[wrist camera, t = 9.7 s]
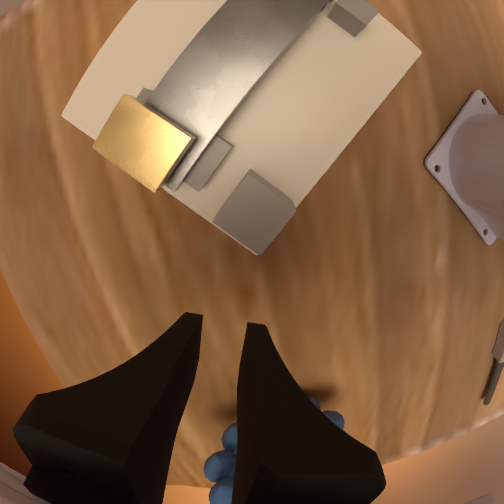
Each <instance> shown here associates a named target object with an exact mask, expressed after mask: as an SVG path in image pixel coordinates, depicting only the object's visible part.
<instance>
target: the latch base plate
mask: <svg viewBox="0 0 504 504" xmlns="http://www.w3.org/2000/svg"><path fill="white" fill-rule="evenodd" d="M226 1H227V0H137V2H136V3H135V4H134V5H133V6H132V8H131V9H130V10H129V11H128V13H127V14H126V15H125V16H124V18H123V19H122V20H121V22H120V23H119V24H118V25H117V27H116V28H115V29H114V31H113V32H112V34H111V35H110V36H109V38H108V39H107V41H106V42H105V43H104V45H103V46H102V48H101V49H100V51H99V52H98V54H97V55H96V57H95V58H94V60H93V61H92V63H91V64H90V66H89V68H88V69H87V71H86V72H85V74H84V76H83V77H82V79H81V81H80V82H79V84H78V86H77V87H76V89H75V91H74V93H73V94H72V96H71V98H70V100H69V102H68V103H67V105H66V107H65V109H64V111H63V113H62V115H61V116H62V117H63V118H65V119H66V120H68V121H69V122H70V123H72V124H73V125H75V126H76V127H77V128H79V129H80V130H81V131H83V132H84V133H86V134H87V135H88V136H90V137H91V138H93V139H94V140H96V139H97V137H98V135H99V133H100V132H101V130H102V128H103V126H104V125H105V123H106V121H107V119H108V118H109V116H110V114H111V113H112V111H113V109H114V108H115V106H116V105H117V103H118V101H119V100H120V98H121V97H122V95H123V94H128V95H132V96H134V97H136V98H137V99H139V100H140V101H142V102H144V103H145V102H146V101H147V99H148V98H149V96H150V95H151V93H152V92H153V91H154V89H155V88H156V86H157V85H158V83H159V82H160V81H161V79H162V78H163V77H164V75H165V74H166V72H167V71H168V70H169V68H170V67H171V66H172V64H173V63H174V62H175V61H176V59H177V58H178V57H179V55H180V54H181V53H182V52H183V50H184V49H185V48H186V47H187V45H188V44H189V43H190V42H191V40H192V39H193V38H194V37H195V36H196V34H197V33H198V32H199V31H200V30H201V29H202V27H203V26H204V25H205V24H206V23H207V22H208V21H209V19H210V18H211V17H212V16H213V15H214V14H215V13H216V12H217V11H218V9H219V8H220V7H221V6H222V5H223V4H224V3H225V2H226ZM379 12H380V11H379V10H378V9H376V8H375V7H374V6H373V5H371V4H370V3H369V2H367V1H366V0H333V1H332V2H331V3H327V5H326V7H325V9H324V10H323V11H322V12H321V13H320V14H319V15H318V16H317V17H316V18H315V19H314V20H313V21H312V22H311V23H310V24H309V25H308V26H307V27H306V28H305V30H304V31H303V32H302V33H301V34H300V35H299V36H298V37H297V38H296V39H295V40H294V42H293V43H292V44H291V45H290V46H289V47H288V48H287V49H286V50H285V52H284V53H283V54H282V55H281V56H280V57H279V58H278V60H277V61H276V62H275V63H274V64H273V65H272V67H271V68H270V69H269V70H268V71H267V73H266V74H265V75H264V76H263V77H262V78H261V80H260V81H259V82H258V83H257V85H256V86H255V87H254V88H253V89H252V91H251V92H250V93H249V94H248V96H247V97H246V98H245V99H244V101H243V102H242V103H241V104H240V106H239V107H238V108H237V110H236V111H235V112H234V113H233V115H232V116H231V117H230V119H229V120H228V121H227V122H226V124H225V125H224V126H223V128H222V129H221V130H220V132H219V133H218V134H217V136H216V137H215V138H214V140H213V141H212V142H211V144H210V145H209V147H208V148H207V149H206V151H205V152H204V153H203V155H202V156H201V158H200V159H199V160H198V162H197V163H196V165H195V166H194V168H193V169H192V170H191V172H190V173H189V175H188V176H187V178H186V179H185V181H184V182H183V184H182V185H181V187H180V188H179V189H178V190H177V191H175V192H173V191H172V190H170V189H169V188H167V187H166V186H165V185H164V186H163V189H164V190H165V191H167V192H168V193H169V194H171V195H172V196H174V197H175V198H176V199H178V200H179V201H181V202H182V203H183V204H185V205H186V206H188V207H189V208H190V209H192V210H193V211H195V212H196V213H197V214H199V215H200V216H202V217H203V218H204V219H206V220H207V221H209V222H210V223H211V224H213V225H214V226H216V227H217V228H218V229H220V230H221V231H223V232H224V233H225V234H227V235H228V236H230V237H231V238H232V239H234V240H235V241H237V242H238V243H239V244H241V245H242V246H244V247H245V248H246V249H248V250H249V251H251V252H252V253H253V254H255V255H256V256H257V255H259V256H260V255H261V254H262V253H263V252H264V251H265V249H266V248H267V247H268V246H269V245H270V243H271V242H272V241H273V240H274V238H275V237H276V236H277V235H278V234H279V232H280V231H281V230H282V229H283V228H284V226H285V225H286V224H287V223H288V221H289V220H290V219H291V218H292V217H293V215H294V214H295V213H296V212H297V210H296V207H297V206H298V205H299V204H300V203H301V201H302V200H303V199H304V198H305V196H306V195H307V194H308V193H309V192H310V190H311V189H312V188H313V187H314V185H315V184H316V183H317V182H318V181H319V179H320V178H321V177H322V176H323V174H324V173H325V172H326V171H327V170H328V168H329V167H330V166H331V165H332V163H333V162H334V161H335V160H336V158H337V157H338V156H339V155H340V154H341V152H342V151H343V150H344V149H345V147H346V146H347V145H348V144H349V143H350V141H351V140H352V139H353V138H354V136H355V135H356V134H357V133H358V131H359V130H360V129H361V128H362V126H363V125H364V124H365V123H366V122H367V120H368V119H369V118H370V117H371V115H372V114H373V113H374V112H375V110H376V109H377V108H378V107H379V105H380V104H381V103H382V102H383V101H384V99H385V98H386V97H387V96H388V94H389V93H390V92H391V91H392V89H393V88H394V87H395V86H396V84H397V83H398V82H399V81H400V79H401V78H402V77H403V76H404V74H405V73H406V72H407V71H408V69H409V68H410V67H411V66H412V65H413V63H414V62H415V61H416V60H417V58H418V57H419V56H420V55H421V53H422V52H421V51H420V50H419V49H418V48H417V47H416V46H415V45H414V44H413V43H412V42H411V41H410V40H409V39H408V38H406V37H405V36H404V35H403V34H402V33H401V32H400V31H399V30H398V29H397V28H395V27H394V26H393V25H392V24H391V23H390V22H388V21H387V20H386V19H385V18H384V17H382V16H381V15H380V14H379Z"/></svg>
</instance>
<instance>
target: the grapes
mask: <svg viewBox="0 0 504 504" xmlns="http://www.w3.org/2000/svg"><path fill="white" fill-rule="evenodd" d="M308 398H309V399H310V400H311V401H312V403H313V404H314V405H315V406H316V407H317V408H318V409H319V410H320V405H319V402H318V401H316V400H315V399H314V398H310V397H308ZM322 413H323V414H325V415H326V416H327V417H328V418H329V419H330V420H331V421H332V422H333V423H334V424H336V425H337V426H338V427H339V428H341V429H342V430H343V427H344V423H345V422H344V419H343V416H342V415H341V414H339V413H338V412H336V411H329V410H327V411H324V412H322ZM222 443H223V448H224V449H226V450H222V451H218V452H215V453H213V454H212V455H211V456H210V457H209V458H208V459H207V460H206V462H205V465H204V473H205V477H206V478H207V479H208V480H210V481H211V482H216V484H215V485H214V486H213V487H212V488H211V490H210V493H209V501H210V504H231V500H232V492H233V482H234V473H235V463H236V453H237V422H236V423H234V424H232V425H230V426H229V427H228V428H227V429H226V430H225V431H224V433H223V436H222Z"/></svg>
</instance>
